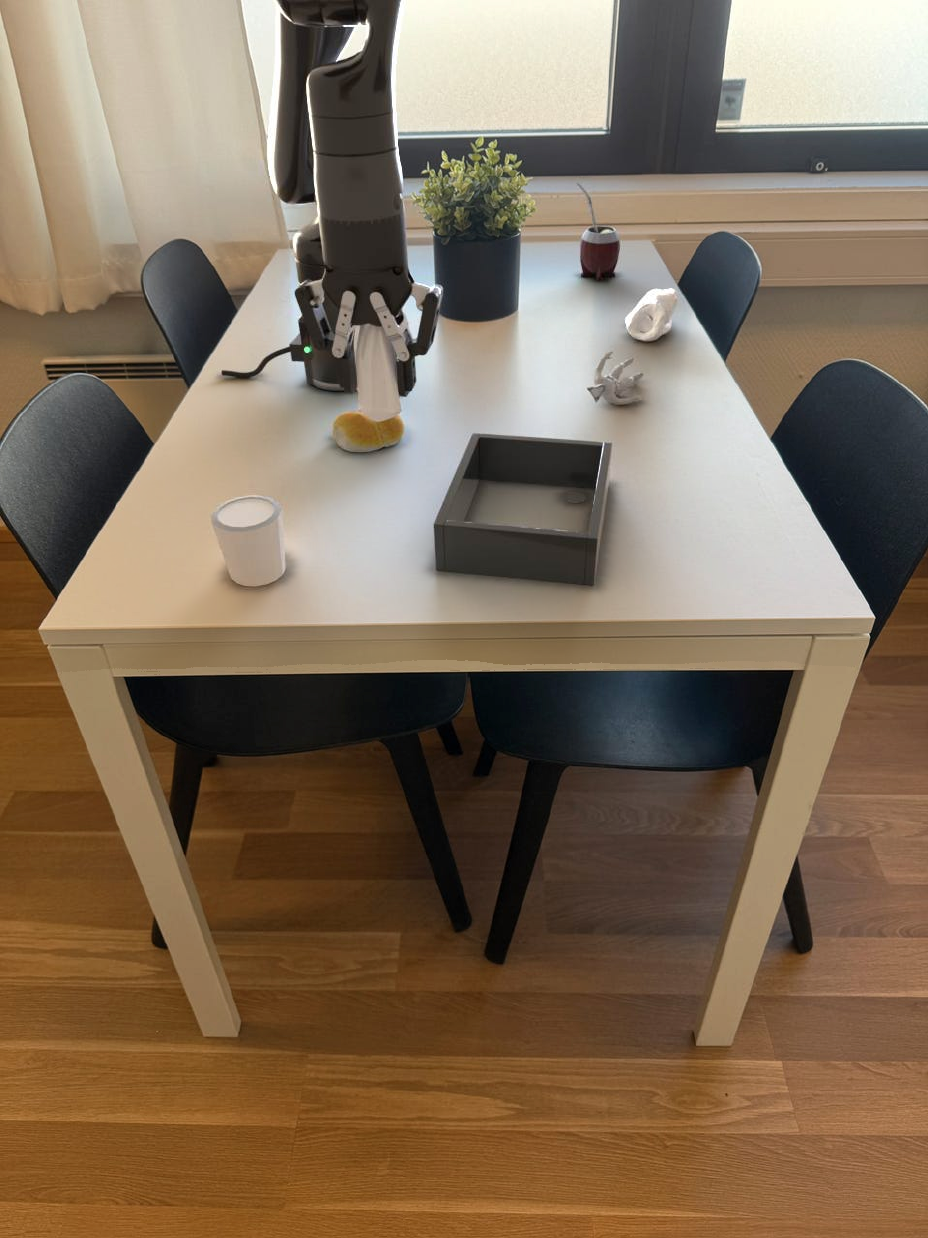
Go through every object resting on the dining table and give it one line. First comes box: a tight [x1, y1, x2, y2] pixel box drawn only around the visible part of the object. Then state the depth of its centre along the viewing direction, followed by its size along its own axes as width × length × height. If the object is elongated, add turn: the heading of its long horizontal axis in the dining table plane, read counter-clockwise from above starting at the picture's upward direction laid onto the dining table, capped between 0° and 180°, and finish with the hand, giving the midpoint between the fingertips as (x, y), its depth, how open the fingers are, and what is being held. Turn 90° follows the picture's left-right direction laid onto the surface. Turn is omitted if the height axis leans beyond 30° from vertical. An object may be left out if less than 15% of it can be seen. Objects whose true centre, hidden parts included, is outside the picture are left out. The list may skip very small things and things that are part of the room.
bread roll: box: [331, 409, 405, 453], centre depth 112 cm, size 8×9×4 cm
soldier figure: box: [586, 350, 644, 406], centre depth 121 cm, size 8×5×12 cm
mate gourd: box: [576, 182, 621, 282], centre depth 158 cm, size 8×8×15 cm
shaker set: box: [354, 324, 403, 422], centre depth 88 cm, size 12×4×11 cm, turn 8°
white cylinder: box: [210, 494, 287, 588], centre depth 89 cm, size 7×7×7 cm
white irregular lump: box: [624, 287, 679, 343], centre depth 139 cm, size 9×12×8 cm
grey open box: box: [433, 432, 613, 586], centre depth 95 cm, size 16×20×6 cm
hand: (377, 391), depth 87 cm, fingers closed on shaker set, 5 cm apart
